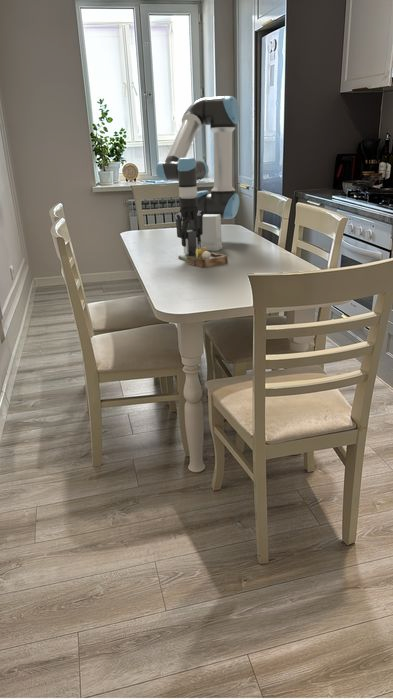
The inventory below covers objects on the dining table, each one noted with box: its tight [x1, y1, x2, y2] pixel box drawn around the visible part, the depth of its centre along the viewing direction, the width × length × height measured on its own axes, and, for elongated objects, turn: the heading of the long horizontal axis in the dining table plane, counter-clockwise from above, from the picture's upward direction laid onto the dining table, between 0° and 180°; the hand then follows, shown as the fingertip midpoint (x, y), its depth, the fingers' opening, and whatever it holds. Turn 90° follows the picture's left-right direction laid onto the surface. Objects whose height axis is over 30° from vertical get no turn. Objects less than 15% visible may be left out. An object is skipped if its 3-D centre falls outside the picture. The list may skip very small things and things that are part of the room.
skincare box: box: [200, 214, 223, 252], centre depth 237 cm, size 8×7×16 cm
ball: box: [202, 250, 211, 259], centre depth 216 cm, size 4×4×4 cm
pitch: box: [177, 252, 229, 269], centre depth 219 cm, size 13×21×3 cm, turn 33°
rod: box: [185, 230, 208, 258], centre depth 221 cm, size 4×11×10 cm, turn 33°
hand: (190, 252), depth 226 cm, fingers closed on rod, 4 cm apart
